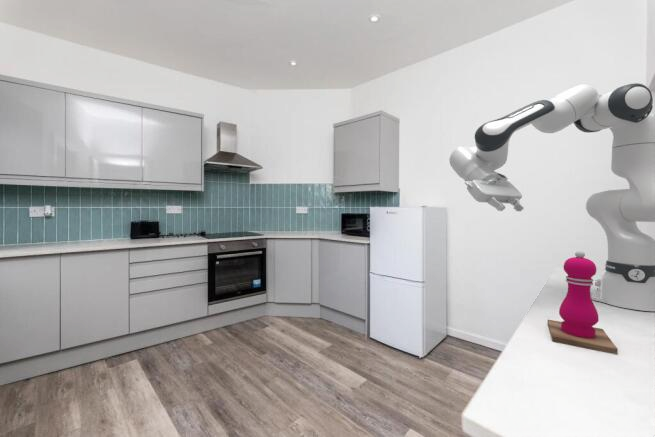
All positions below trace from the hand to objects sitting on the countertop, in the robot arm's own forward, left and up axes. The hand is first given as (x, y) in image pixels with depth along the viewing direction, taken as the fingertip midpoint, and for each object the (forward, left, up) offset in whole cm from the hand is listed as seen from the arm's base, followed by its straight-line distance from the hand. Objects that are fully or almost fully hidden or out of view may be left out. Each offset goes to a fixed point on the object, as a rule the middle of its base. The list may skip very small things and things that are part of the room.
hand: (511, 209), depth 89 cm
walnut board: (+14, +14, -31) cm, 37 cm away
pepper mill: (+14, +14, -30) cm, 36 cm away
